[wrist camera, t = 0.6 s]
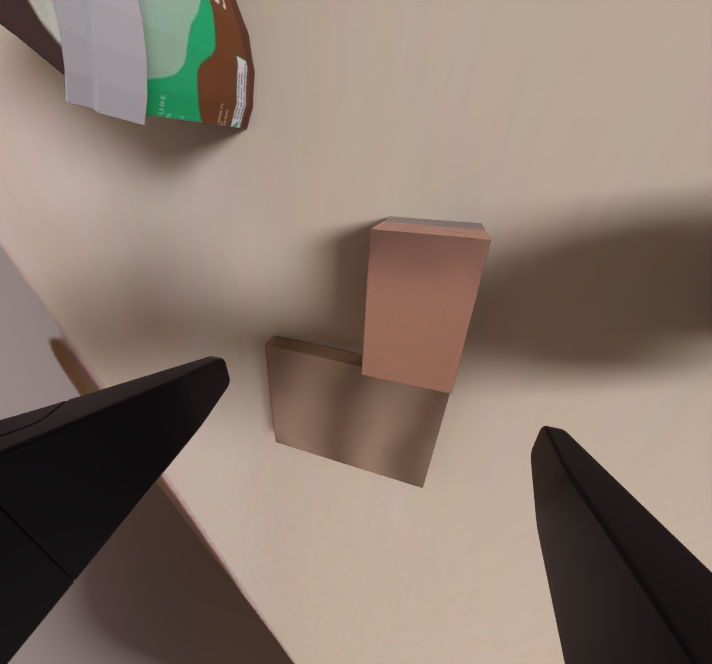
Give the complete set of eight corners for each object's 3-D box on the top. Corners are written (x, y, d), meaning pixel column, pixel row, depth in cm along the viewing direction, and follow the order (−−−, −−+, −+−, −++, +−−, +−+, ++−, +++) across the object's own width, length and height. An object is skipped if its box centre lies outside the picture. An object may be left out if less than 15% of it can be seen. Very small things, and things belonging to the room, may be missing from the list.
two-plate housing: (481, 223, 16) (490, 239, 12) (452, 347, 20) (451, 393, 15) (391, 216, 17) (370, 228, 13) (380, 334, 21) (361, 374, 17)
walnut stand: (451, 374, 20) (451, 387, 19) (424, 472, 26) (422, 487, 24) (275, 335, 24) (265, 344, 22) (283, 430, 29) (275, 442, 28)
